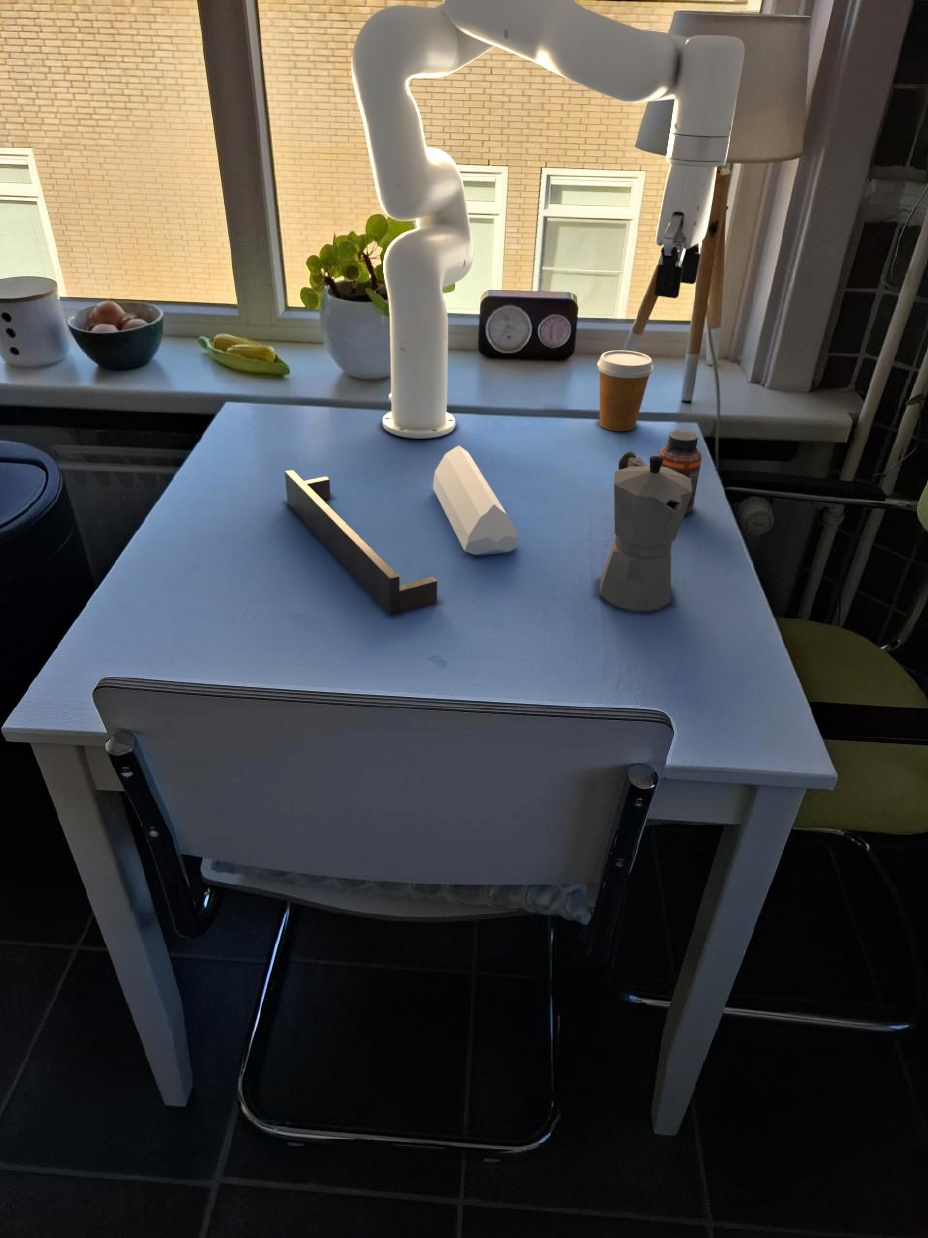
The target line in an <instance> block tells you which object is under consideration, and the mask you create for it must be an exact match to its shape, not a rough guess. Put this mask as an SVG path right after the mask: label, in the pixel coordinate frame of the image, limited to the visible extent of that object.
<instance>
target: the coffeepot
mask: <svg viewBox="0 0 928 1238" xmlns="http://www.w3.org/2000/svg"><path fill="white" fill-rule="evenodd" d="M645 463H646V462H645V461H644V460H643V459H642V458H641V457H640V456H639V457H638V456H637V455H636V453H635V452H632V451H627V452H625V453H624V454H623V455H622V457H620V458H619V460H618V469H617V470H615V471H614V476H613V499H614V501H613V503H614V504H613V505H614V509H613V510H614V535H615V536H614V539H613V540H612V544H611V546H610V550H609V553H608V555H607V558H606V562H605V564H604V568H603V571H602V574H601V576H600V581H599V582H600V583H599V595H600V596H601V597H602V598H603V600H604V601H606V602H608V603H609V604H611V605H612V606H614V607H616V608H619V609H621V610H625V611H630V612H639V613H645V612H647V613H648V612H653V611H657V610H660V609H662V608H664V607H666V606H667V605H668V604H670V603H671V602H672V543H673V542H674V541H676V540H677V536H678V534H679V530H680V528H681V526H682V522H683V520H684V517H685V515H686V514H685V511H686V509H687V506H688V503H689V500H690V497H691V495H692V484H691V478H689V477H687V476H684V475H682V474H680V473H678V472H676V471H674V470H672V469H670V468H666V467H661V466H662V463H663V458H662V457H660V456H659V455H651V456H649V465H645Z"/></svg>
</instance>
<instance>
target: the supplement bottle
mask: <svg viewBox="0 0 928 1238" xmlns="http://www.w3.org/2000/svg"><path fill="white" fill-rule="evenodd" d="M698 441H699V435H698V434H697V433H696V432H693V431H691V430H686V429H677V430H676V429H674V430H672V431H670V432H669V434H668V440H667V444H665V445H663V446H662V447H661V448H660V451H659V455H658V456H660V457H662V458H663V463H662V466H661V467H666V468H670V469H672V470H674V471H676V472H678V473H680V474H682V475H684V476H687V477H689V478H691V484H692V495H691V497H690V500H689V503H688V506H687V509H686V511H685V514H684V515H686V514H688V513H690V512H691V511H692V510H693V508H694V503H695V498H696V493H697V487H698V483H699V482H698V481H699V476H700V470H701V464H702V459H703V457H702V456H703V455H702V452H701V450H700V449H699V448H698Z"/></svg>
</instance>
